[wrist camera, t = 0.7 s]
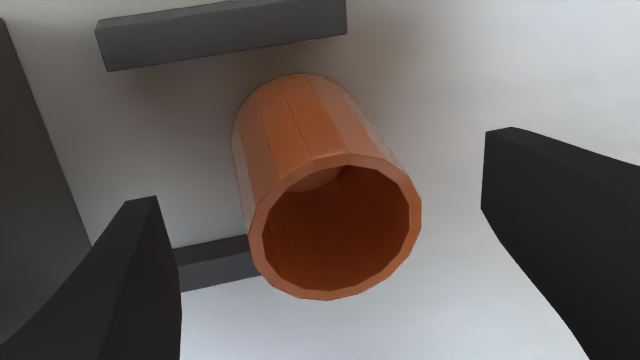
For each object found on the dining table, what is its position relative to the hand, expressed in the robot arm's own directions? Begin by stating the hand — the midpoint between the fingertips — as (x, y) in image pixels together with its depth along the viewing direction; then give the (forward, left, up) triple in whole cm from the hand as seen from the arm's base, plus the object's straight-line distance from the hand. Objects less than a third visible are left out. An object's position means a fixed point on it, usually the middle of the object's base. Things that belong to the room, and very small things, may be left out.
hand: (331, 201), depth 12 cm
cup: (-3, -1, -10) cm, 10 cm away
